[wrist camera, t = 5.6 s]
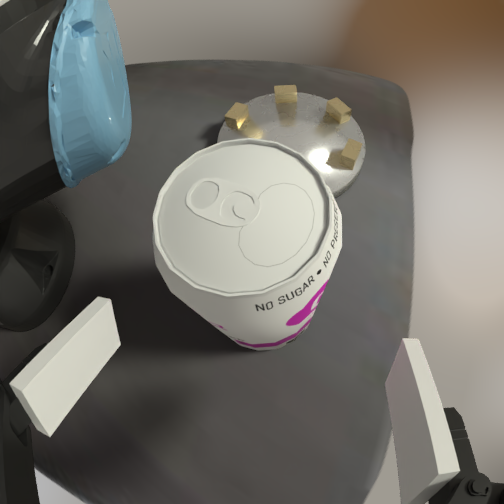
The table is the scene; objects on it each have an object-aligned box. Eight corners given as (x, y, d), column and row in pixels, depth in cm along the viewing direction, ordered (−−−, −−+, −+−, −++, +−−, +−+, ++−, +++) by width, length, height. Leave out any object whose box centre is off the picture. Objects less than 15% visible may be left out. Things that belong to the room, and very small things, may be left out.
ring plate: (270, 237, 28) (268, 221, 25) (196, 137, 33) (189, 118, 31) (390, 165, 30) (398, 146, 27) (304, 87, 35) (305, 68, 33)
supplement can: (329, 276, 26) (371, 162, 12) (288, 368, 23) (294, 355, 10) (242, 240, 28) (205, 112, 14) (197, 324, 25) (103, 257, 12)
